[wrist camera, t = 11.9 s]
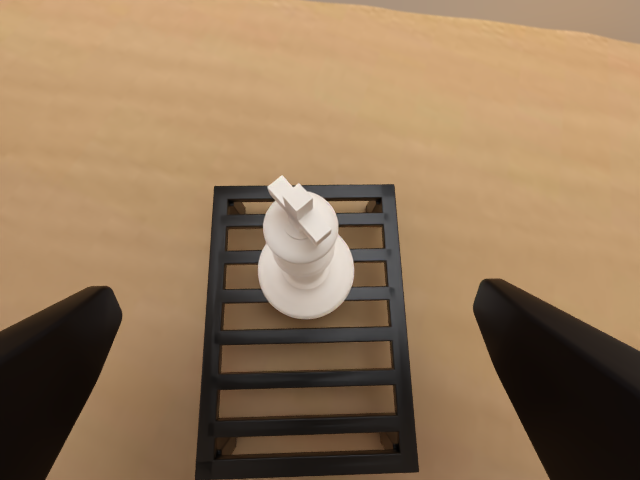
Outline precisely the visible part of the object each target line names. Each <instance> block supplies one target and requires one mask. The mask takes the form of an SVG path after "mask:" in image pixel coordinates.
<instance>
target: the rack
mask: <svg viewBox="0 0 640 480" xmlns="http://www.w3.org/2000/svg"><path fill="white" fill-rule="evenodd" d="M294 186H296V185H292V187H294ZM301 186H302V187H303V188H304V189H305V190H306V191H307V192H312V193H315V194H317V195H319V196H321V197H322V198H324V199H325V200H326V201H369V202H368V204H367V206H366V209H367V213H336V216H337V219H338V226H339V227H382V241H383V248H371V249H350V252H351V254H352V258H353V262H354V263H384V269H385V282H386V286H369V287H351V290H350V292H349V294H348V296H347V297H346V299H345V300H344V301H379V300H387V310H388V324H389V326H375V327H331V328H288V329H245V330H223V326H224V307H225V304H235V303H269V301H268V300H267V299H266V297H265V296H264V294H263V292H262V289H225V287H226V268H227V265H258V263H259V258H260V255H261V252H262V250H246V251H227V249H228V230H229V229H260V228H263V222H264V218H265V215H266V214H245V206H244V205H243V203H242V202H274V201H275V200H274V199H273V197H272V196H271V195H270V194H269V191H268V188H267V187H268V186H214V197H213V213H212V228H211V243H210V259H209V274H208V289H207V304H206V319H205V334H204V349H203V364H202V379H201V395H200V410H199V425H198V440H197V455H196V470H195V480H219V479H246V478H273V477H301V476H328V475H355V474H382V473H412V472H419V466H418V454H417V443H416V431H415V419H414V408H413V396H412V385H411V373H410V361H409V350H408V338H407V327H406V315H405V303H404V292H403V280H402V268H401V257H400V245H399V234H398V222H397V210H396V199H395V187H394V184H382V185H301ZM375 341H390V351H391V365H392V368H373V369H336V370H299V371H262V372H225V373H221V364H222V345H253V344H293V343H334V342H375ZM375 385H393V392H394V406H395V413H365V414H333V415H301V416H268V417H236V418H219V402H220V390H235V389H270V388H305V387H340V386H375ZM374 432H380V438H381V444H382V445H383V447H384V449H385V450H358V451H330V452H301V453H272V454H243V455H231V454H232V453H233V451H234V449H235V447H236V437H253V436H283V435H314V434H344V433H374Z"/></svg>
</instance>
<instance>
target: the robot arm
mask: <svg viewBox="0 0 640 480" xmlns="http://www.w3.org/2000/svg"><path fill="white" fill-rule="evenodd" d="M473 311H474V315H475V318H476V320H477V323H478V326H479V328H480V331H481V334H482V336H483V339H484V342H485V344H486V347H487V350H488V352H489V355H490V358H491V360H492V363H493V365H494V368H495V370H496V372H497V374H498V376H499V378H500V381H501V383H502V385H503V387H504V389H505V391H506V393H507V395H508V397H509V399H510V401H511V403H512V405H513V407H514V409H515V411H516V413H517V415H518V417H519V419H520V421H521V423H522V425H523V427H524V429H525V431H526V433H527V435H528V437H529V439H530V441H531V443H532V445H533V447H534V449H535V451H536V453H537V455H538V457H539V459H540V461H541V463H542V465H543V467H544V469H545V471H546V473H547V475H548V477H549V479H550V480H640V351H638V350H636V349H635V348H633V347H631V346H629V345H627V344H625V343H623V342H621V341H619V340H617V339H615V338H613V337H612V336H610V335H608V334H606V333H604V332H602V331H600V330H598V329H596V328H594V327H592V326H591V325H589V324H587V323H585V322H583V321H581V320H579V319H577V318H575V317H573V316H571V315H570V314H568V313H566V312H564V311H562V310H560V309H558V308H556V307H554V306H552V305H550V304H549V303H547V302H545V301H543V300H541V299H539V298H537V297H535V296H533V295H531V294H529V293H527V292H526V291H524V290H522V289H520V288H518V287H516V286H514V285H512V284H510V283H508V282H506V281H505V280H502V279H484V280H482V282H481V283H480V286H479V289H478V292H477V294H476V297H475V300H474V304H473ZM121 321H122V311H121V308H120V306H119V304H118V301H117V299H116V297H115V295H114V292H113V290H112V289H111V288H110V287H108V286H91V287H87V288H85V289H83V290H81V291H79V292H77V293H75V294H73V295H71V296H69V297H68V298H66V299H64V300H62V301H60V302H58V303H56V304H54V305H52V306H50V307H48V308H46V309H44V310H42V311H40V312H38V313H36V314H34V315H32V316H30V317H28V318H26V319H24V320H22V321H20V322H18V323H16V324H14V325H12V326H10V327H8V328H6V329H4V330H2V331H0V480H45V479H46V477H47V476H48V474H49V472H50V470H51V468H52V466H53V464H54V462H55V460H56V458H57V457H58V455H59V453H60V451H61V449H62V447H63V445H64V443H65V441H66V439H67V438H68V436H69V434H70V432H71V430H72V428H73V426H74V424H75V422H76V420H77V419H78V417H79V415H80V413H81V411H82V409H83V407H84V405H85V403H86V401H87V400H88V398H89V396H90V394H91V392H92V390H93V388H94V386H95V384H96V382H97V380H98V377H99V375H100V373H101V371H102V368H103V366H104V363H105V361H106V358H107V356H108V353H109V351H110V348H111V346H112V343H113V341H114V338H115V336H116V334H117V331H118V329H119V326H120V324H121Z"/></svg>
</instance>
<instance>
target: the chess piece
mask: <svg viewBox="0 0 640 480" xmlns="http://www.w3.org/2000/svg"><path fill="white" fill-rule="evenodd" d="M267 188H268V191H269V194H270V195H271V196H272V197H273V199H274V200H275V201H274V202H273V204H272V205H271V206H270V207H269V209H268V210H267V212H266V215H265V218H264V222H263V233H264V238H265V241H266V244H265V246H264V248H263V250H262V252H261V255H260V258H259V263H258V278H259V283H260V287H261V289H262V292H263V294H264V296H265V297H266V299H267V300H268V301H269V303H270V304H271V305H272V306H273V307H274V308H276V309H277V310H278V311H280V312H281V313H283V314H285V315H287V316H290V317H293V318H297V319H315V318H319V317H322V316H325V315H327V314H329V313H331V312H332V311H334V310H335V309H336V308H338V307H339V306H340V305H341V304H342V303H343V301H344V300H345V299H346V297H347V296H348V294H349V292H350V290H351V287H352V284H353V279H354V262H353V258H352V254H351V252H350V249H349V247H348V246H347V244H346V242H345V241H344V240H343V239H342V238H341V236H340V235H338V228H339V226H338V219H337V216H336V213H335V211H334V209H333V208H332V206H331V205H330V204H329V203H328V202H327V201H326V200H325V199H324V198H322V197H321V196H319V195H317V194H315V193H312V192H307V191H306V190H305V189H304V188H303V187H302V186H301V185H300V184H299V183H298V184H297V185H296V186H294V187H292V185H291V184H290V183H289V182H288V181H287V180H286V179H285V178H284V177H283V176H281V177H279V178H278V179H277V180H275V181H274V182H273V183H272V184H270V185H269V186H268V187H267Z"/></svg>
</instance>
